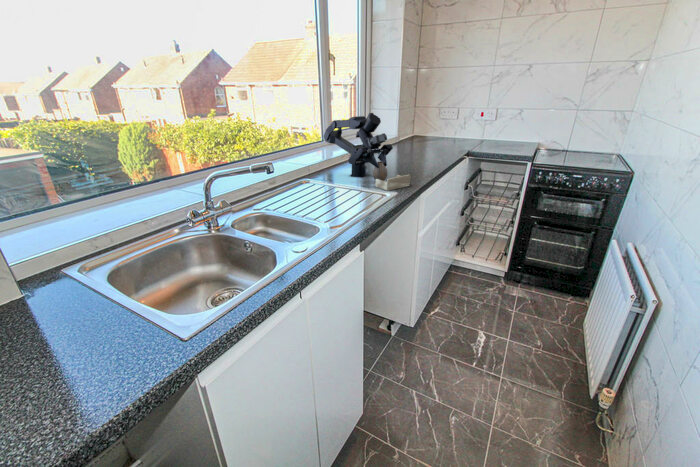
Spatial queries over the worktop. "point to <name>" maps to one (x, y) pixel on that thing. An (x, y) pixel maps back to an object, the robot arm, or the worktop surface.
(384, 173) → the vase
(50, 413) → the worktop surface
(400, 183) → the shoe shelf
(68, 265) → the worktop surface
